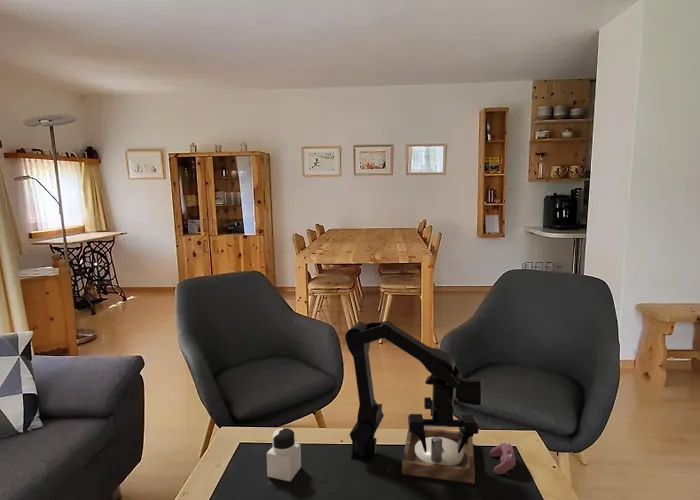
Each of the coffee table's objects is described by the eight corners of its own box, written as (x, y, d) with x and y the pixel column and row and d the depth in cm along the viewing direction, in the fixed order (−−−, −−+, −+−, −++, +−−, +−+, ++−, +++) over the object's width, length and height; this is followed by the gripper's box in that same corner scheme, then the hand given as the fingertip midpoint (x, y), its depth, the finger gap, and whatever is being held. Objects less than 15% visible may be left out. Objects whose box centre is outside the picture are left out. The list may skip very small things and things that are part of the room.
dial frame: (402, 473, 125) (402, 461, 125) (408, 436, 144) (408, 425, 143) (474, 483, 121) (474, 470, 120) (471, 443, 140) (472, 432, 139)
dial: (419, 437, 141) (419, 415, 140) (465, 445, 137) (466, 422, 136) (410, 463, 128) (410, 439, 127) (461, 472, 123) (461, 448, 122)
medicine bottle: (301, 466, 129) (300, 427, 127) (290, 482, 122) (289, 441, 121) (279, 462, 131) (277, 423, 130) (267, 477, 125) (265, 436, 123)
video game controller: (507, 481, 124) (520, 461, 123) (492, 473, 124) (505, 453, 123) (502, 460, 134) (514, 441, 132) (488, 452, 134) (499, 433, 133)
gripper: (470, 387, 132) (469, 436, 134) (406, 386, 133) (406, 435, 135) (479, 405, 121) (478, 459, 123) (409, 404, 122) (409, 457, 124)
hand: (441, 452), depth 127 cm, fingers open, 9 cm apart
